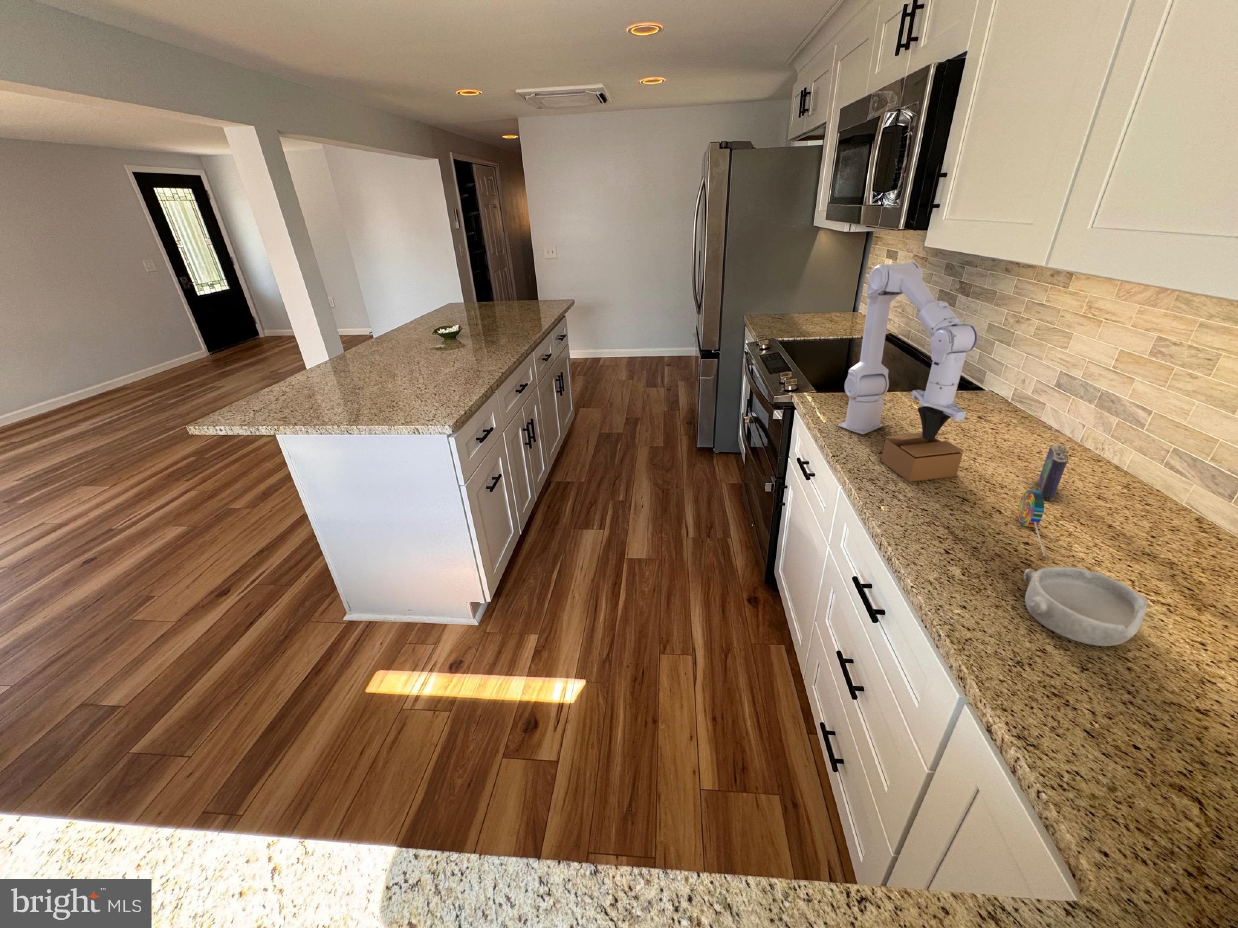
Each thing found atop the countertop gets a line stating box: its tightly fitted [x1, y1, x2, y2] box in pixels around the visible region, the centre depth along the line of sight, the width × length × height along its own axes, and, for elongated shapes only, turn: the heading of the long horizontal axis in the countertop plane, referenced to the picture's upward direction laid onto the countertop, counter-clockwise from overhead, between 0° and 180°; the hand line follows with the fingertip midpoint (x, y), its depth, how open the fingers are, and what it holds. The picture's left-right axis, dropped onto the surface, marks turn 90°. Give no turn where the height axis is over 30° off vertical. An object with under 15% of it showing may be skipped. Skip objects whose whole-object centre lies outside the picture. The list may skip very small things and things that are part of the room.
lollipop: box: [1017, 489, 1046, 557], centre depth 96 cm, size 7×1×15 cm
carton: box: [880, 437, 964, 483], centre depth 120 cm, size 11×12×7 cm
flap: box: [886, 431, 948, 440], centre depth 121 cm, size 5×12×1 cm, turn 98°
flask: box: [1036, 444, 1070, 501], centre depth 108 cm, size 9×3×11 cm, turn 147°
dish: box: [1023, 566, 1149, 647], centre depth 77 cm, size 14×14×5 cm
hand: (928, 438), depth 117 cm, fingers closed
